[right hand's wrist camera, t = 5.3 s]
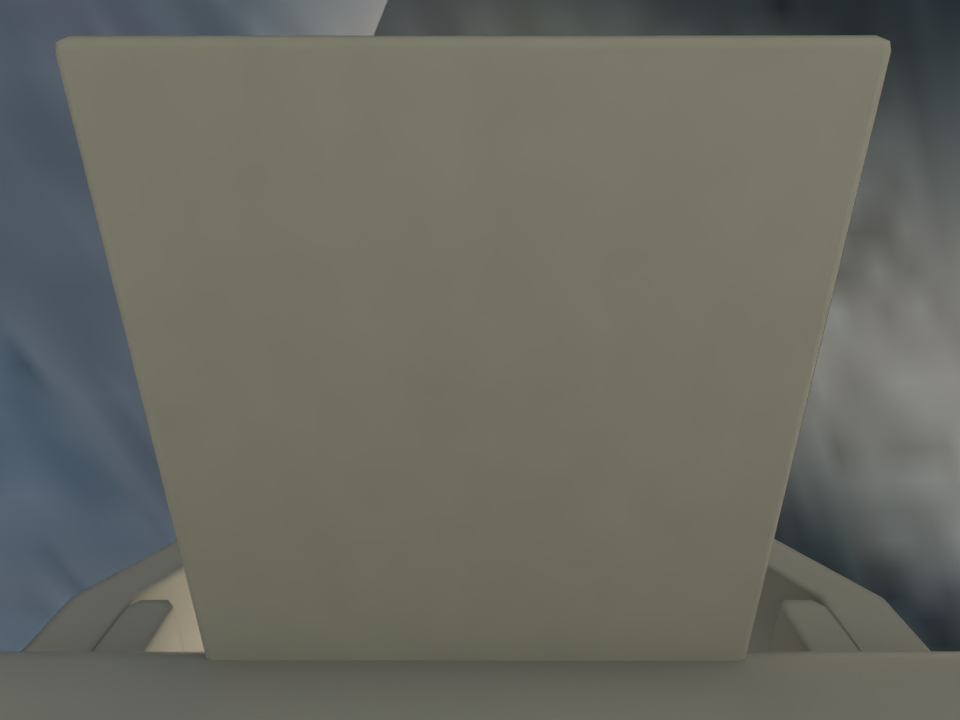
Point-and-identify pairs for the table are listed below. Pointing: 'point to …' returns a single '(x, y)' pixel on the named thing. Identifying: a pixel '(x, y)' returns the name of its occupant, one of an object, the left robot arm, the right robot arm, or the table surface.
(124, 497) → the table surface
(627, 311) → the bar
